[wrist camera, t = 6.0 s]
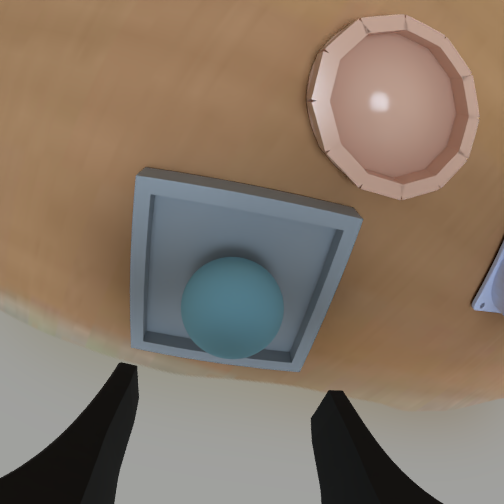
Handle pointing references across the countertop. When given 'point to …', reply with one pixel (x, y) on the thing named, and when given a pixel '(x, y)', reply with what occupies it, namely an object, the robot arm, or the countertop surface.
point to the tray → (233, 245)
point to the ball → (232, 308)
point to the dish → (393, 105)
